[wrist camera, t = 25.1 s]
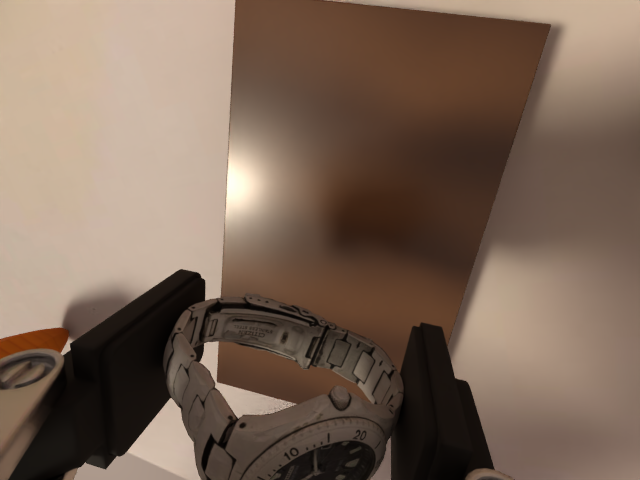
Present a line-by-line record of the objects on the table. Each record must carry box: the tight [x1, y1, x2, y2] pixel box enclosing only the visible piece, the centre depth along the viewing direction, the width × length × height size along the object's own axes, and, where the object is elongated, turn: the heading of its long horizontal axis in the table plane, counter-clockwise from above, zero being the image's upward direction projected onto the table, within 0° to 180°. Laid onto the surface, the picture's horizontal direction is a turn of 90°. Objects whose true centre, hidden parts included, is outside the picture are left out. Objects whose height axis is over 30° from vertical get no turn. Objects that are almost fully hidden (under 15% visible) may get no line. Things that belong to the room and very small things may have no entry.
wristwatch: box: [163, 293, 404, 480], centre depth 8 cm, size 4×6×5 cm, turn 71°
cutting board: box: [217, 0, 551, 404], centre depth 18 cm, size 20×12×2 cm, turn 172°
